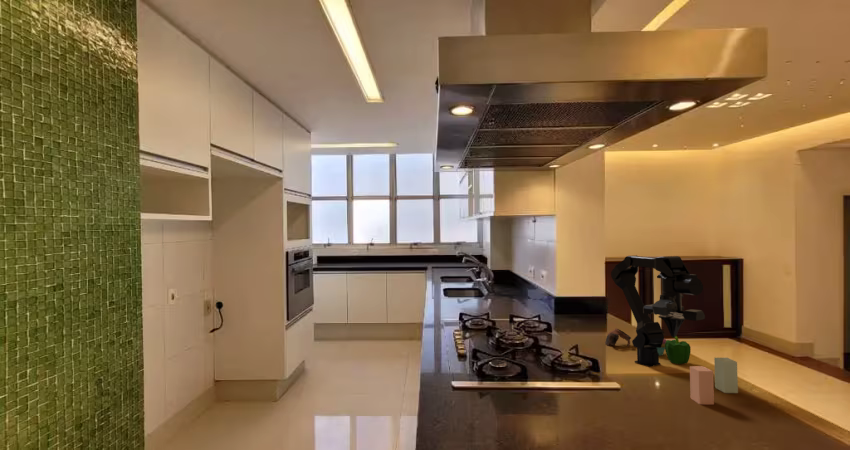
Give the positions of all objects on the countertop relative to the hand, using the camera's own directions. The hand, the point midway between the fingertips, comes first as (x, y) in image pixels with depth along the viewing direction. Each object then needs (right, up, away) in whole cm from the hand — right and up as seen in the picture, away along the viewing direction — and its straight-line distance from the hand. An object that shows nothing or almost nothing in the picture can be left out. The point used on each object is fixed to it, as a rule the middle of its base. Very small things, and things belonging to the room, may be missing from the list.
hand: (673, 336), depth 147 cm
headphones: (-3, -14, +37) cm, 40 cm away
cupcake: (+8, -14, +24) cm, 29 cm away
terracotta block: (-6, -13, -24) cm, 28 cm away
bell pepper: (+9, -13, +13) cm, 21 cm away
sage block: (+7, -13, -16) cm, 21 cm away
